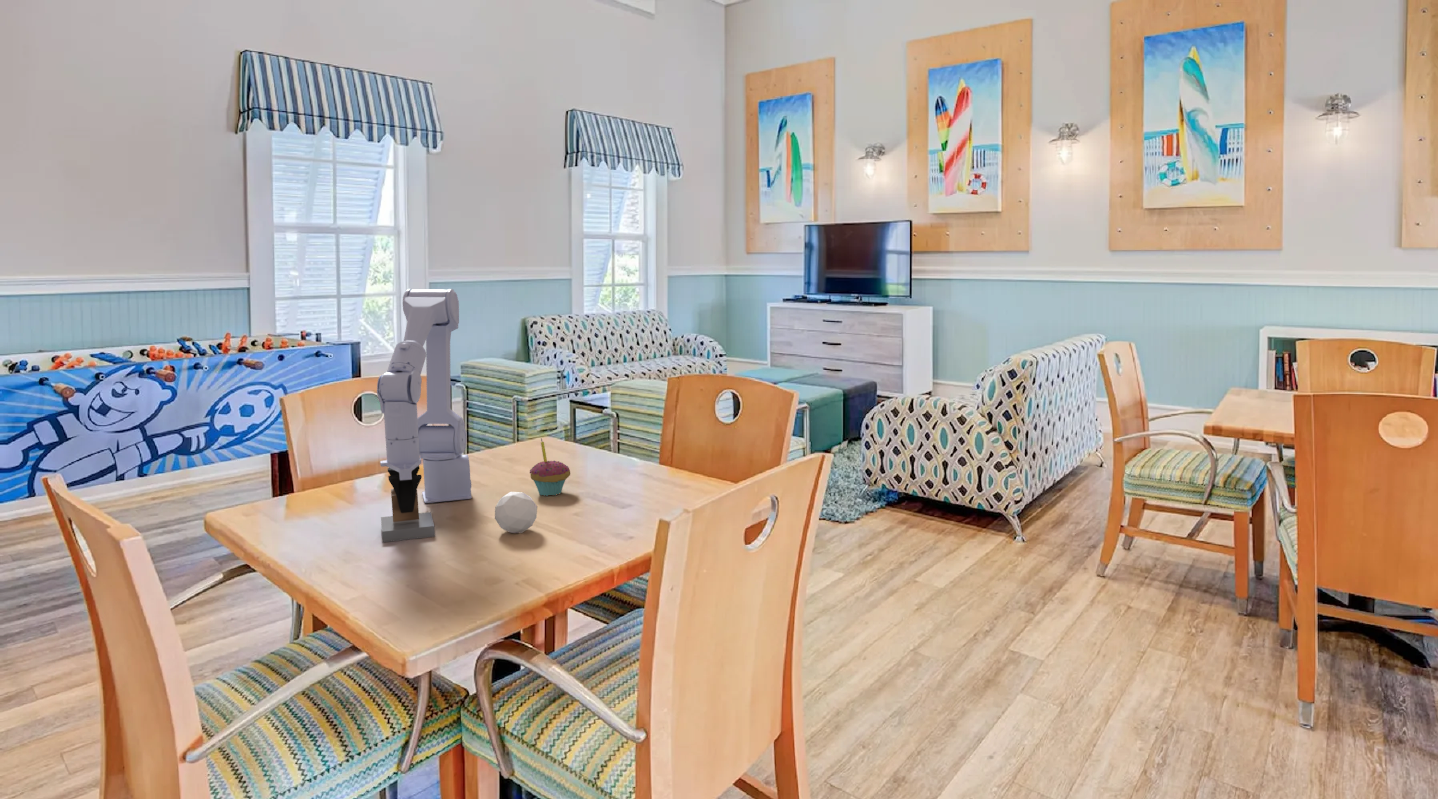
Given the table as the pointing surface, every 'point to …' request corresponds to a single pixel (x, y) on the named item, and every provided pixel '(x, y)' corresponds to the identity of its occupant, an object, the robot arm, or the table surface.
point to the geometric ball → (515, 512)
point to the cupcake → (549, 475)
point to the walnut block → (397, 513)
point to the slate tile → (407, 528)
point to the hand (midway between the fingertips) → (406, 508)
